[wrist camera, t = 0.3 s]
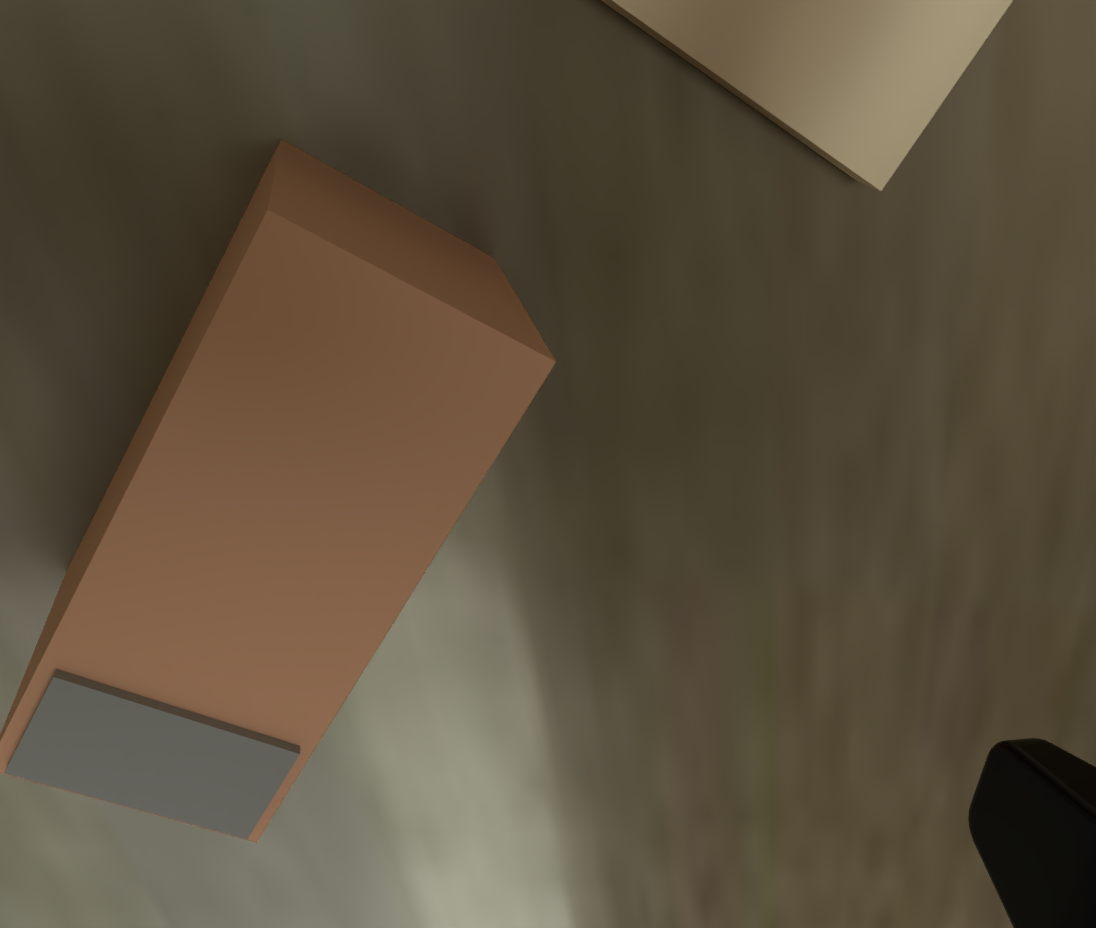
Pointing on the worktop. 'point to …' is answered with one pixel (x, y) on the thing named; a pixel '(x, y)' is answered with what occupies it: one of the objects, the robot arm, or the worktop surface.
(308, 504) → the terracotta block
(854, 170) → the wooden structure
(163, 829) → the worktop surface
